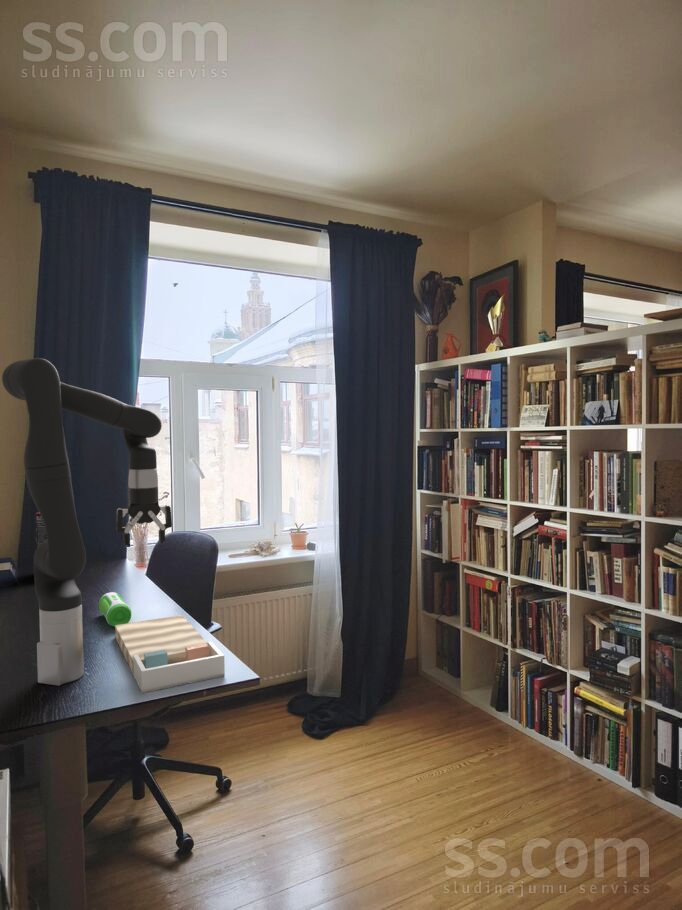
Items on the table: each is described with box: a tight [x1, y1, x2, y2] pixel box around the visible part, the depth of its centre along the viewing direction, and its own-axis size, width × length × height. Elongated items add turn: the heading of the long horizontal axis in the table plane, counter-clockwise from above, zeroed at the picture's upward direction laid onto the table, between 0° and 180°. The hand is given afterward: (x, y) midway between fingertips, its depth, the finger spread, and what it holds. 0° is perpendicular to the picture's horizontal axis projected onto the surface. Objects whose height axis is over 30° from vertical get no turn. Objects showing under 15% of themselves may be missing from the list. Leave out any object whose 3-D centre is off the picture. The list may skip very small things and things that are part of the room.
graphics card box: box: [35, 511, 47, 550], centre depth 240 cm, size 17×7×27 cm, turn 10°
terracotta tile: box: [185, 643, 209, 661], centre depth 146 cm, size 5×5×2 cm
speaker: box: [98, 591, 132, 628], centre depth 184 cm, size 18×7×8 cm, turn 31°
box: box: [133, 640, 226, 694], centre depth 142 cm, size 11×19×5 cm, turn 119°
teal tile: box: [144, 650, 168, 669], centre depth 142 cm, size 5×5×2 cm
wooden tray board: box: [114, 614, 208, 676], centre depth 160 cm, size 30×19×4 cm, turn 29°
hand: (144, 545), depth 161 cm, fingers open, 8 cm apart
